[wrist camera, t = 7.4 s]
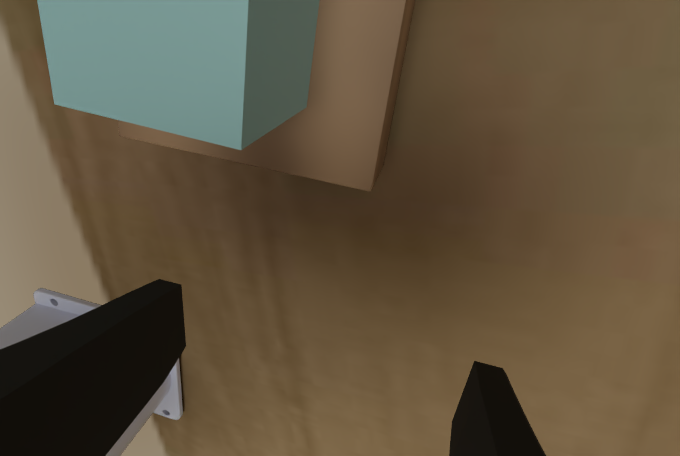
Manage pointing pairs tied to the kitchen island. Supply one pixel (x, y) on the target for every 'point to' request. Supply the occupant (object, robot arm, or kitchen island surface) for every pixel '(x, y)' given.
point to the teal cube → (183, 63)
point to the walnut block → (329, 100)
